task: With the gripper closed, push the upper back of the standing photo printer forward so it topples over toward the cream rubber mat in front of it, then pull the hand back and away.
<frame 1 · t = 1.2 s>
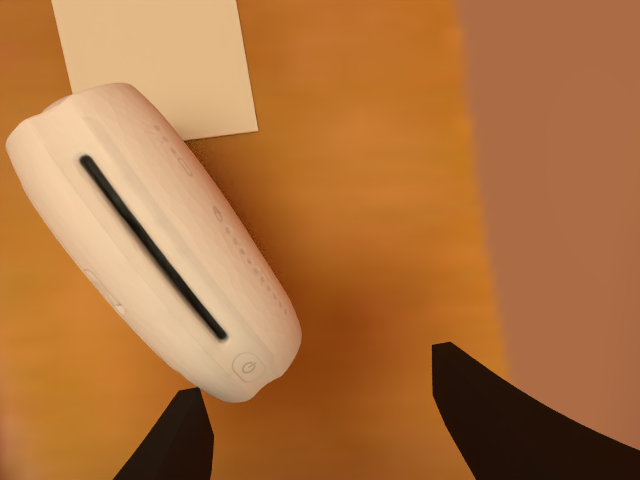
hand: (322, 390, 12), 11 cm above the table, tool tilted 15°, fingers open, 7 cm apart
photo printer: (188, 215, 21), on the table, touching gripper
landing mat: (153, 27, 20), on the table
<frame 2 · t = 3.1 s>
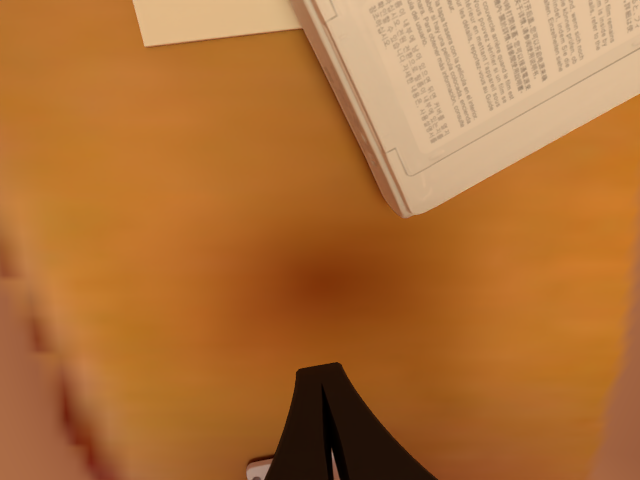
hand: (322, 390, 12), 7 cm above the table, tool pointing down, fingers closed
photo printer: (338, 110, 14), point 2 cm above the table, touching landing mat
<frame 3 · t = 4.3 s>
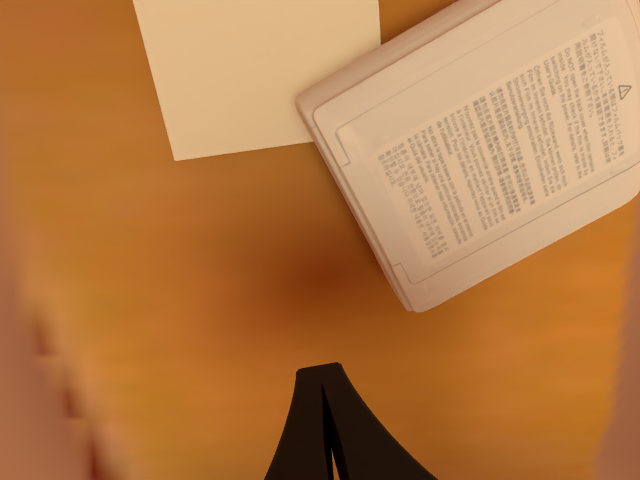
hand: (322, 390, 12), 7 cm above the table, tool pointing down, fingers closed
photo printer: (349, 220, 16), point 2 cm above the table, touching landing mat
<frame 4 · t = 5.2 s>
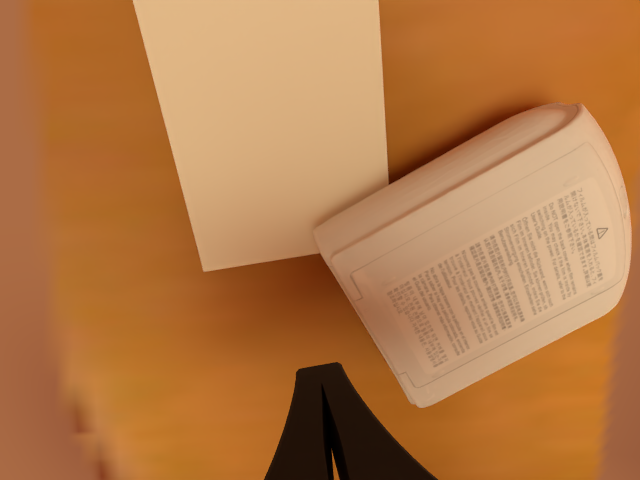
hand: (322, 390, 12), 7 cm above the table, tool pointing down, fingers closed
photo printer: (359, 326, 18), point 2 cm above the table, touching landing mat
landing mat: (278, 125, 16), on the table
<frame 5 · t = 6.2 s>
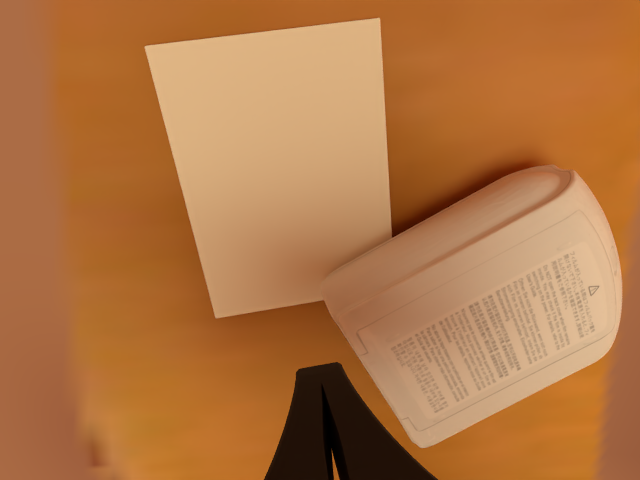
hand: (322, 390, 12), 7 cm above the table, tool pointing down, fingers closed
photo printer: (364, 370, 18), point 2 cm above the table, touching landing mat
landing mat: (288, 183, 17), on the table
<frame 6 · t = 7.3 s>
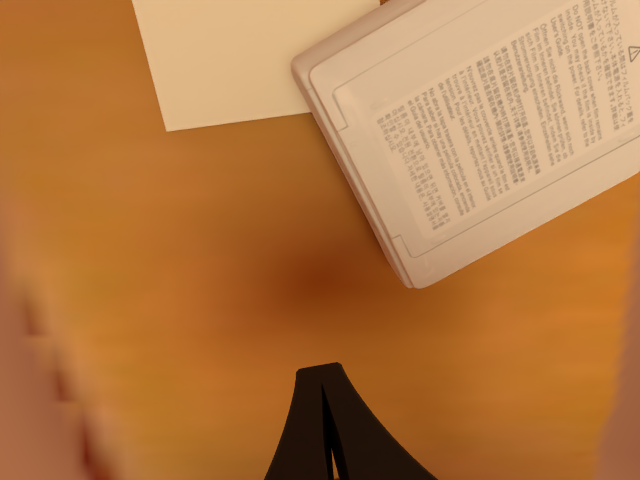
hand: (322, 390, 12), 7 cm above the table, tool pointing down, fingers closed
photo printer: (347, 192, 15), point 2 cm above the table, touching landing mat
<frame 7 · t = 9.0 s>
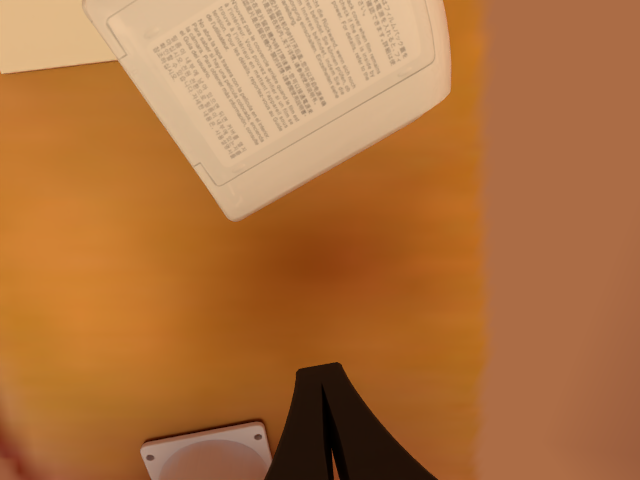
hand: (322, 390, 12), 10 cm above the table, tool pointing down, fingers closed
photo printer: (166, 129, 16), point 2 cm above the table, touching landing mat
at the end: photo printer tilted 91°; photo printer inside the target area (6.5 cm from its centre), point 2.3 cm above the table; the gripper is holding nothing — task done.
